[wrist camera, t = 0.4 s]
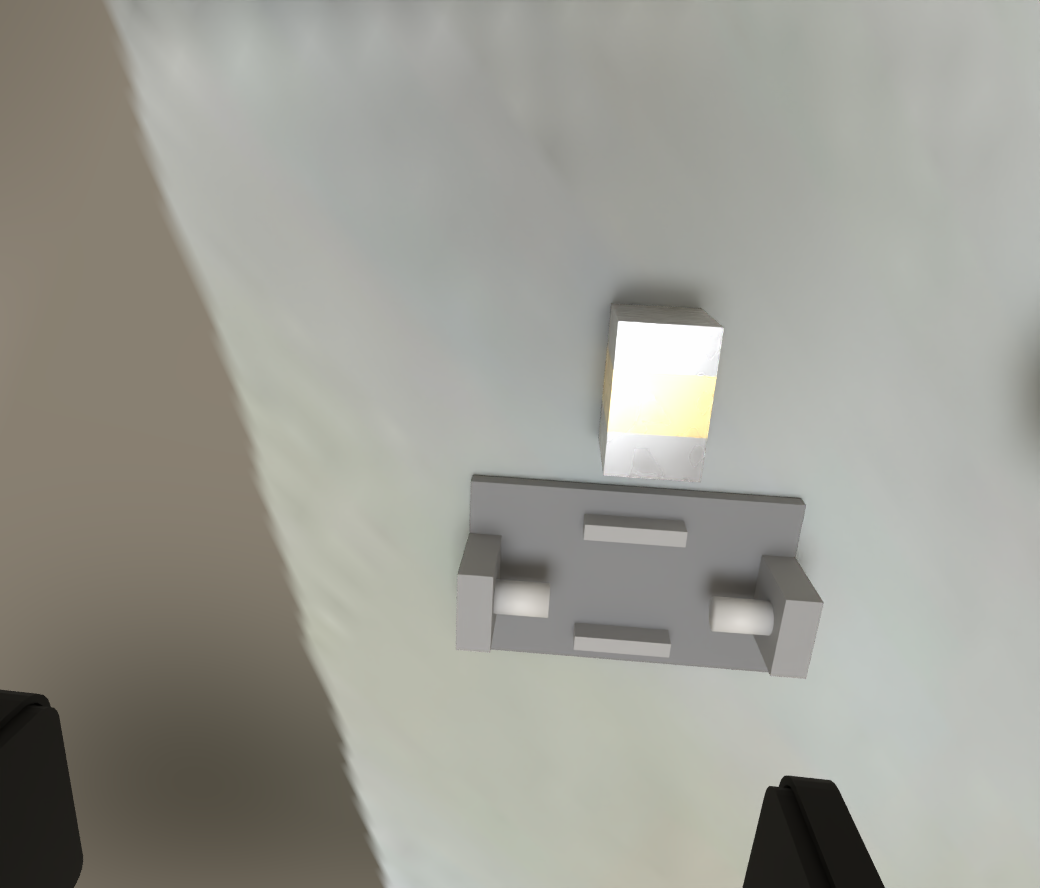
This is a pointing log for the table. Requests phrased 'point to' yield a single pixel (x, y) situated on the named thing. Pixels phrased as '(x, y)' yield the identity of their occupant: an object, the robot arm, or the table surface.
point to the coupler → (658, 391)
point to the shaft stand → (636, 575)
